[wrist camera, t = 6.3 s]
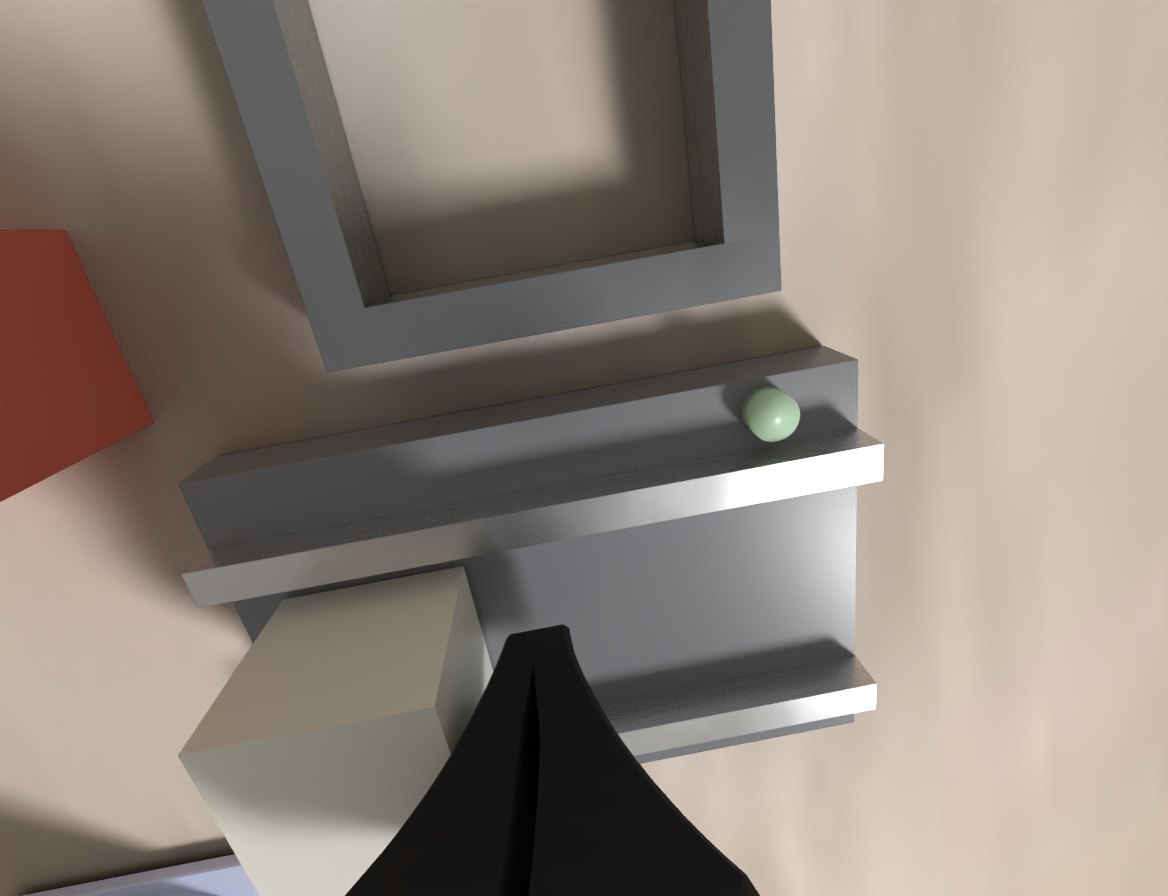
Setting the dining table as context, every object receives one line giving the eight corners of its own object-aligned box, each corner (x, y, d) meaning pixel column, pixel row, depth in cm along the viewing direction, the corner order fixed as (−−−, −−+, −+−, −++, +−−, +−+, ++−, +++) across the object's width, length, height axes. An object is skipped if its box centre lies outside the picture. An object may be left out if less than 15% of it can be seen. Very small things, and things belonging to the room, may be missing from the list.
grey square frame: (744, 281, 13) (781, 291, 11) (357, 350, 12) (327, 372, 11) (713, -250, 9) (757, -366, 8) (196, -165, 9) (112, -264, 7)
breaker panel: (827, 681, 17) (874, 753, 15) (353, 772, 17) (324, 861, 14) (823, 345, 13) (885, 371, 11) (216, 456, 13) (147, 506, 11)
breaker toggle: (502, 702, 14) (491, 873, 10) (340, 734, 14) (271, 916, 10) (463, 565, 13) (434, 706, 9) (283, 599, 13) (178, 755, 9)
